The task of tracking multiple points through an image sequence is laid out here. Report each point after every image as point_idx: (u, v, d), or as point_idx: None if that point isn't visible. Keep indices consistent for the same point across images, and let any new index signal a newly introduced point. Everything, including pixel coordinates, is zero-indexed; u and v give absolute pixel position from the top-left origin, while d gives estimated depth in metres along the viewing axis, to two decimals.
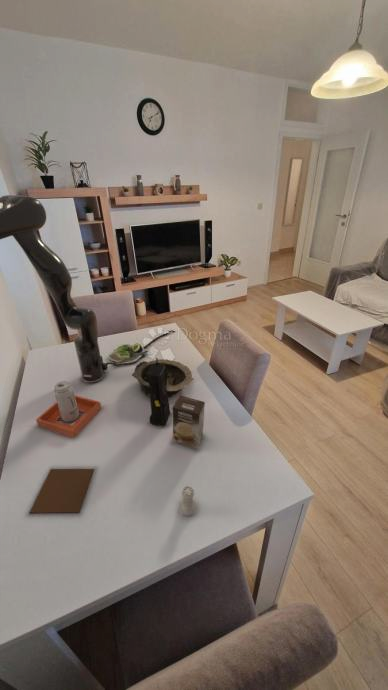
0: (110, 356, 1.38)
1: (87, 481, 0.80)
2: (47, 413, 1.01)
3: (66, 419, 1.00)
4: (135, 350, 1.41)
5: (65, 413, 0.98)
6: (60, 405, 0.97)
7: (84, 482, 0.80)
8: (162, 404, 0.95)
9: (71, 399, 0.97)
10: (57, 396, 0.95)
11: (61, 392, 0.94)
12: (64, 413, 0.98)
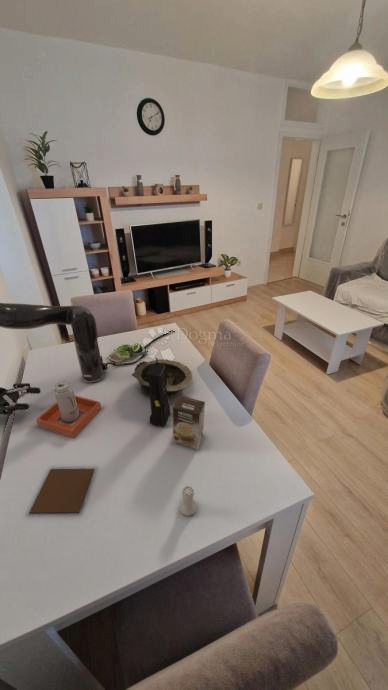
0: (110, 356, 1.38)
1: (87, 481, 0.80)
2: (47, 413, 1.01)
3: (66, 419, 1.00)
4: (135, 350, 1.41)
5: (65, 413, 0.98)
6: (60, 405, 0.97)
7: (84, 482, 0.80)
8: (162, 404, 0.95)
9: (71, 399, 0.97)
10: (57, 396, 0.95)
11: (61, 392, 0.94)
12: (64, 413, 0.98)
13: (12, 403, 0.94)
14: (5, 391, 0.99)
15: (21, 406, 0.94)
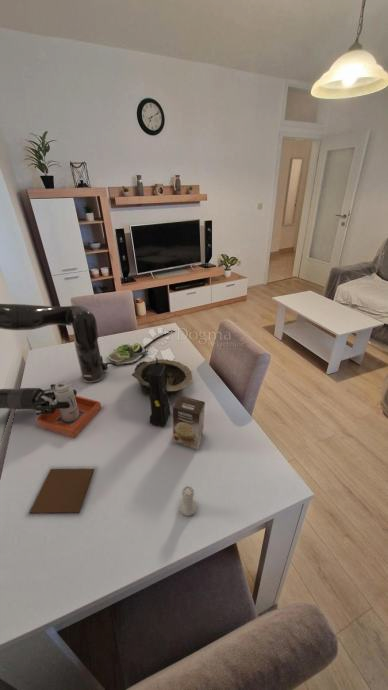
0: (110, 356, 1.38)
1: (87, 481, 0.80)
2: None
3: (66, 419, 1.00)
4: (135, 350, 1.41)
5: (65, 413, 0.98)
6: None
7: (84, 482, 0.80)
8: (162, 404, 0.95)
9: (71, 399, 0.97)
10: (57, 396, 0.95)
11: (61, 392, 0.94)
12: (64, 413, 0.98)
13: (54, 402, 0.95)
14: (42, 392, 1.00)
15: (63, 405, 0.95)
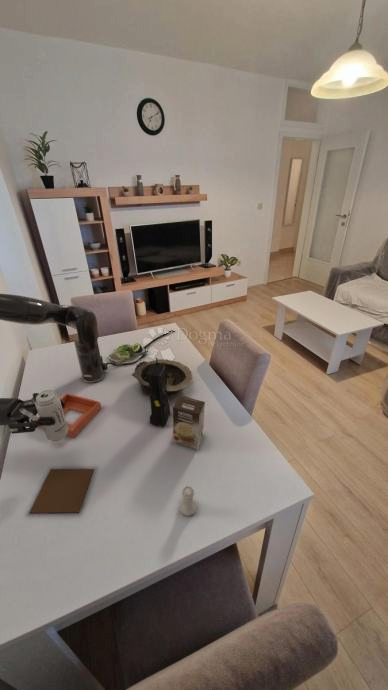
0: (110, 356, 1.38)
1: (87, 481, 0.80)
2: None
3: (52, 438, 0.79)
4: (135, 350, 1.41)
5: (49, 431, 0.77)
6: None
7: (84, 482, 0.80)
8: (162, 404, 0.95)
9: (57, 414, 0.76)
10: (39, 410, 0.74)
11: (44, 404, 0.73)
12: (49, 430, 0.77)
13: (35, 417, 0.74)
14: (21, 403, 0.79)
15: (46, 421, 0.74)
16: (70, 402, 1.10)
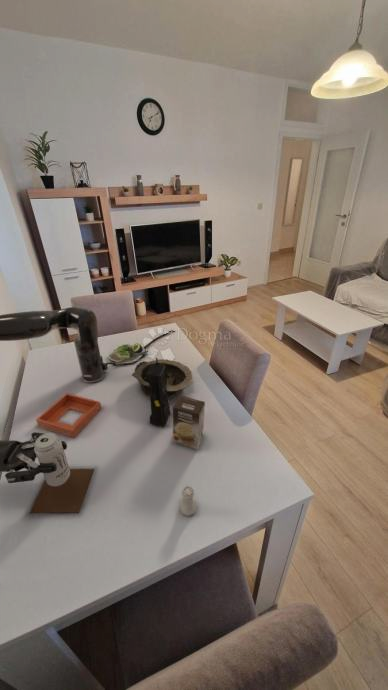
0: (110, 356, 1.38)
1: (87, 481, 0.80)
2: (47, 413, 1.01)
3: (52, 484, 0.72)
4: (135, 350, 1.41)
5: (50, 477, 0.71)
6: None
7: (84, 482, 0.80)
8: (162, 404, 0.95)
9: (58, 459, 0.70)
10: (39, 456, 0.67)
11: (44, 450, 0.67)
12: (49, 476, 0.71)
13: (34, 463, 0.68)
14: (19, 445, 0.73)
15: (46, 468, 0.68)
16: (70, 402, 1.10)
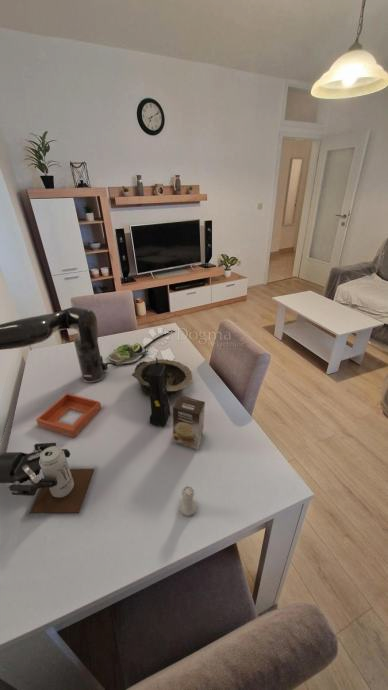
0: (110, 356, 1.38)
1: (87, 481, 0.80)
2: (47, 413, 1.01)
3: (57, 495, 0.75)
4: (135, 350, 1.41)
5: (54, 488, 0.73)
6: None
7: (84, 482, 0.80)
8: (162, 404, 0.95)
9: (62, 472, 0.72)
10: (43, 469, 0.70)
11: (48, 464, 0.69)
12: (54, 488, 0.73)
13: (35, 478, 0.69)
14: (25, 457, 0.75)
15: (47, 483, 0.69)
16: (70, 402, 1.10)
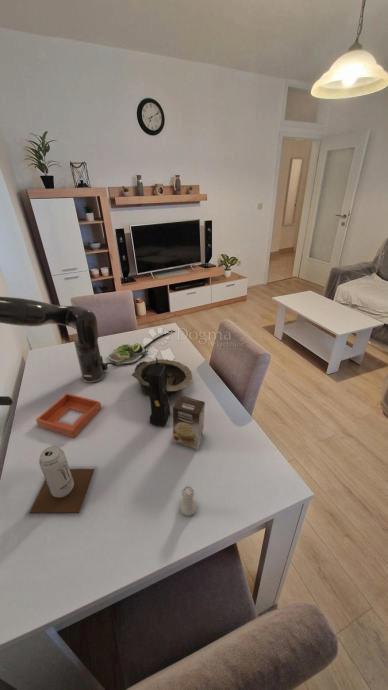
0: (110, 356, 1.38)
1: (87, 481, 0.80)
2: (47, 413, 1.01)
3: (57, 495, 0.75)
4: (135, 350, 1.41)
5: (54, 488, 0.73)
6: (48, 479, 0.72)
7: (84, 482, 0.80)
8: (162, 404, 0.95)
9: (62, 472, 0.72)
10: (43, 469, 0.70)
11: (48, 464, 0.69)
12: (54, 488, 0.73)
13: None
14: None
15: None
16: (70, 402, 1.10)
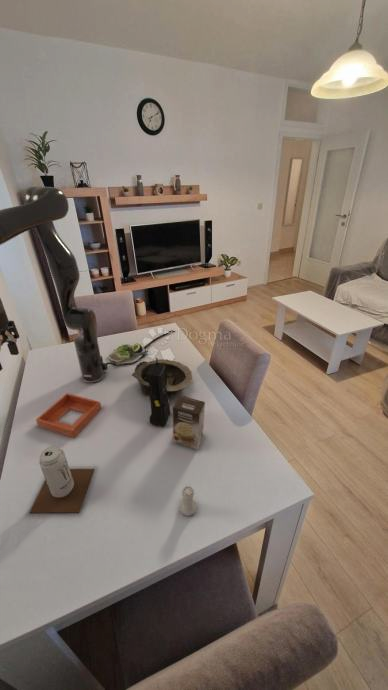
0: (110, 356, 1.38)
1: (87, 481, 0.80)
2: (47, 413, 1.01)
3: (57, 495, 0.75)
4: (135, 350, 1.41)
5: (54, 488, 0.73)
6: (48, 479, 0.72)
7: (84, 482, 0.80)
8: (162, 404, 0.95)
9: (62, 472, 0.72)
10: (43, 469, 0.70)
11: (48, 464, 0.69)
12: (54, 488, 0.73)
13: None
14: None
15: None
16: (70, 402, 1.10)
